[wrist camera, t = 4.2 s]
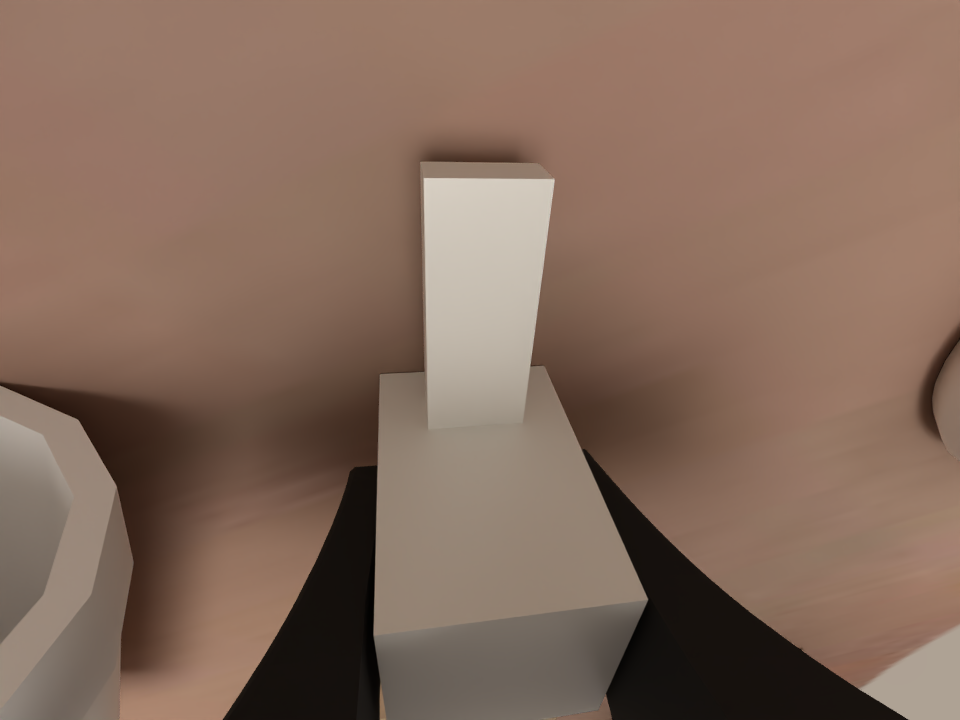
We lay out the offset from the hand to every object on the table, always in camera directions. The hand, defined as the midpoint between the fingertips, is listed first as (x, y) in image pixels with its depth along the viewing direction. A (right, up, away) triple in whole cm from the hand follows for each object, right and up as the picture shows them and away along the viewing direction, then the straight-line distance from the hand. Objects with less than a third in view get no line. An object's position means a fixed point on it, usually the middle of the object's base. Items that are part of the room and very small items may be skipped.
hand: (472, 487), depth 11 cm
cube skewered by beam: (0, +1, +2) cm, 2 cm away
